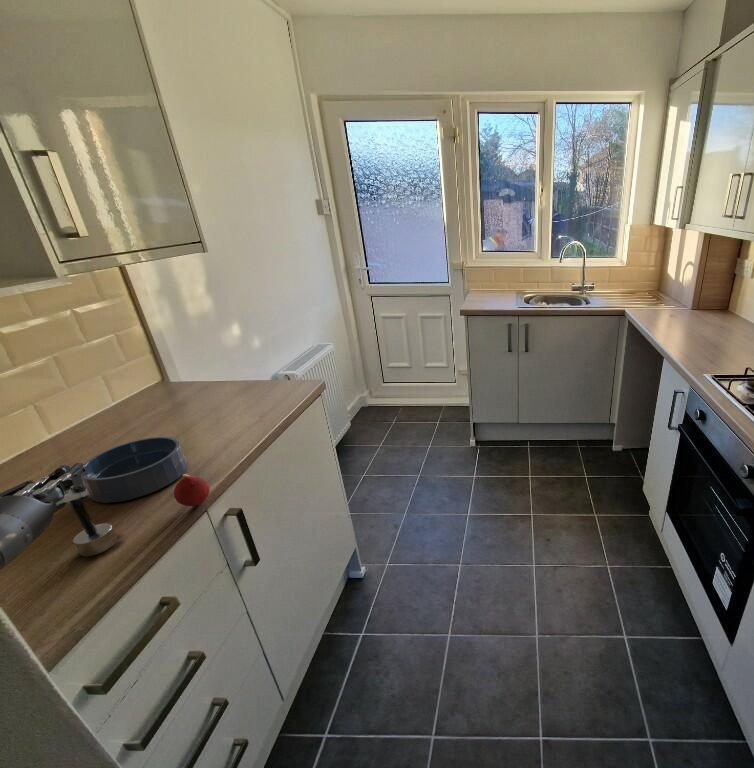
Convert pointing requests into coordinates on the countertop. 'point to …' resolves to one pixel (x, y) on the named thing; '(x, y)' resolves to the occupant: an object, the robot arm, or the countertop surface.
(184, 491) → the onion
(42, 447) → the countertop surface
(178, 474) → the bowl
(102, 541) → the weighted rod stand
